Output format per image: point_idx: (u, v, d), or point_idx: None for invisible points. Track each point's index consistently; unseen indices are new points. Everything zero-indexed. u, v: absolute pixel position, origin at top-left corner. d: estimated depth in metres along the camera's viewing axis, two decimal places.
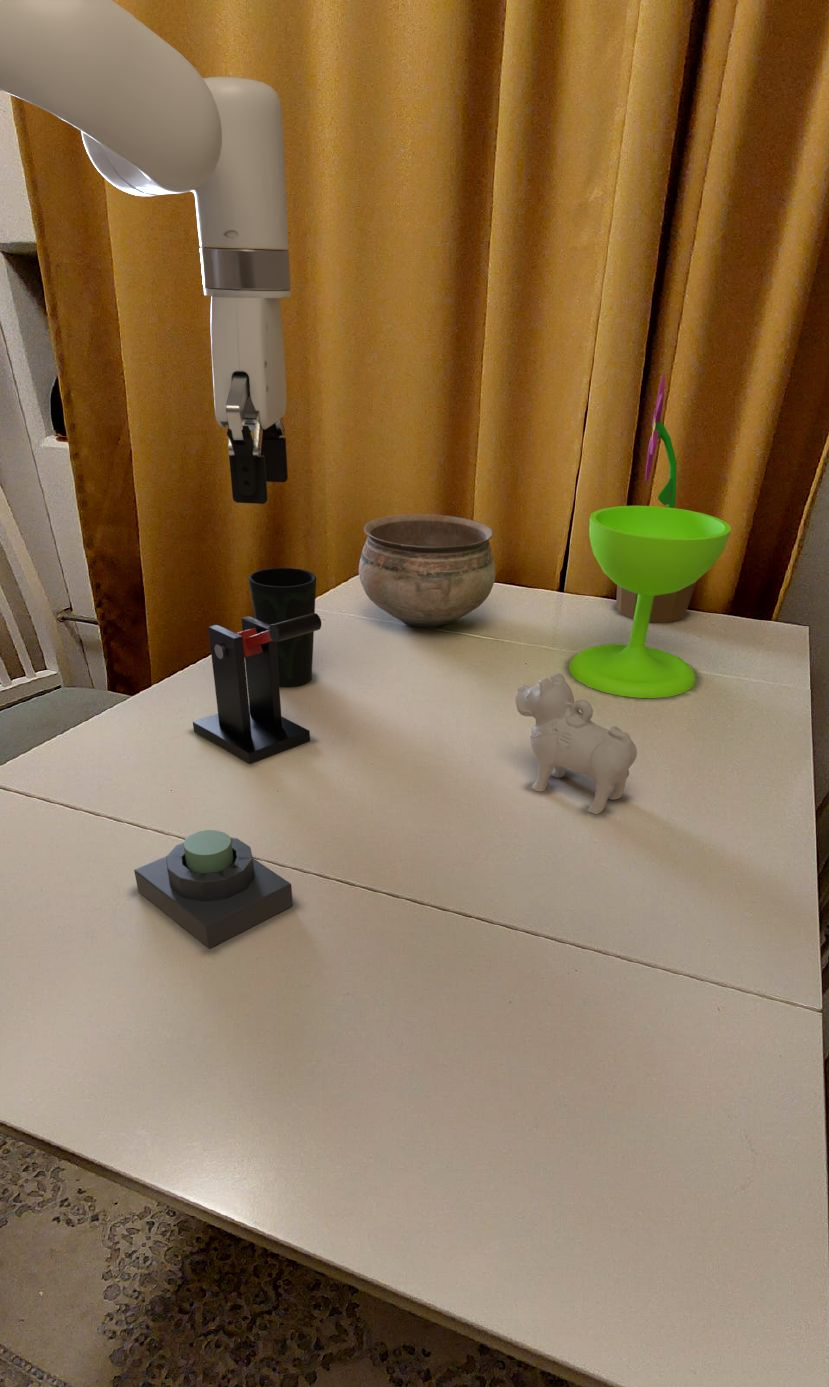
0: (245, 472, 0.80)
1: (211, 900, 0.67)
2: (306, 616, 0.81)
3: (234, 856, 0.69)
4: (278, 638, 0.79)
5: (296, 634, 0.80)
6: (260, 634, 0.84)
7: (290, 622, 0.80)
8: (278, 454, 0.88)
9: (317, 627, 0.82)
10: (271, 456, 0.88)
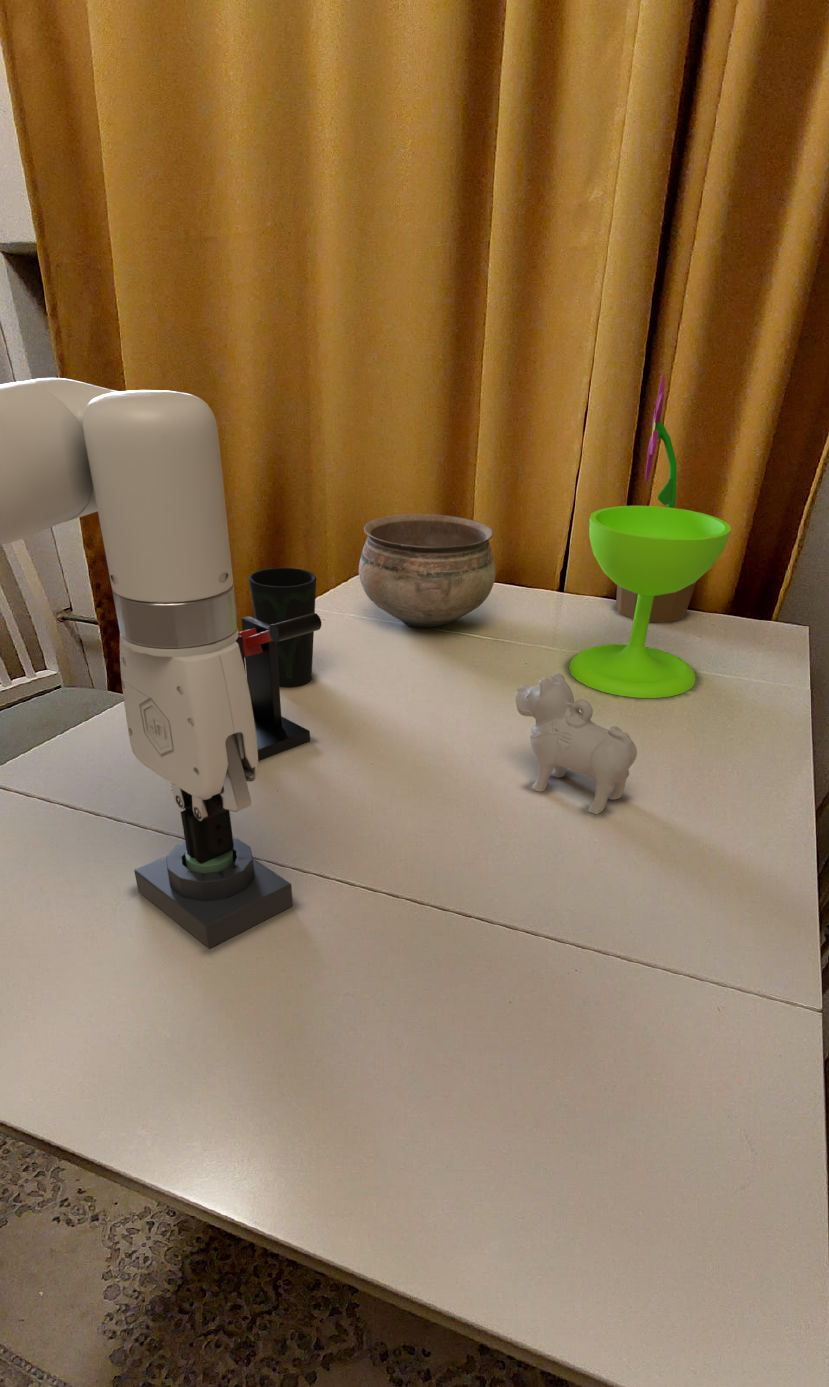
0: (217, 830, 0.65)
1: (211, 900, 0.67)
2: (306, 616, 0.81)
3: (234, 856, 0.69)
4: (278, 638, 0.79)
5: (296, 634, 0.80)
6: (260, 634, 0.84)
7: (290, 622, 0.80)
8: None
9: (317, 627, 0.82)
10: None
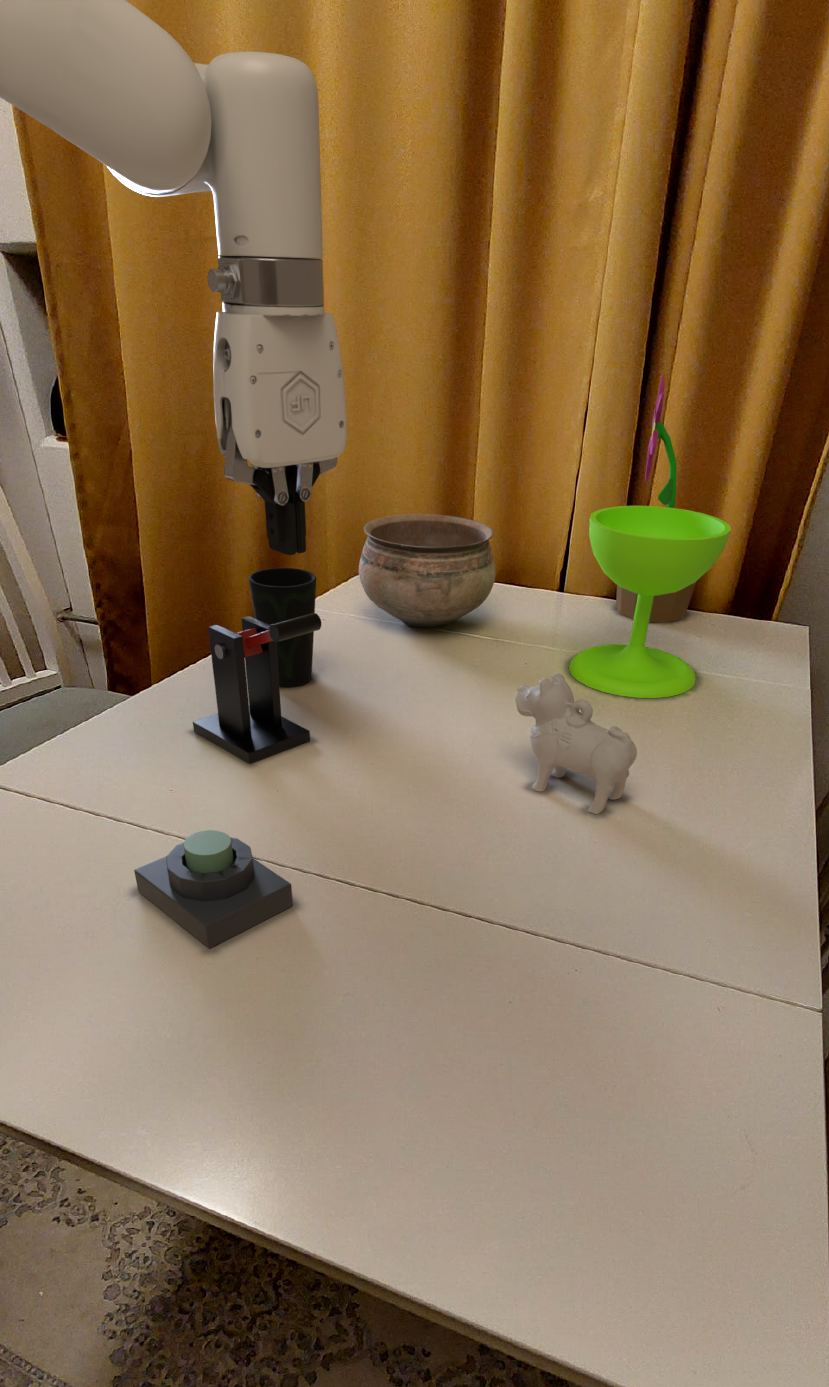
0: None
1: (211, 900, 0.67)
2: (306, 616, 0.81)
3: (234, 856, 0.69)
4: (278, 638, 0.79)
5: (296, 634, 0.80)
6: (260, 634, 0.84)
7: (290, 622, 0.80)
8: None
9: (317, 627, 0.82)
10: None
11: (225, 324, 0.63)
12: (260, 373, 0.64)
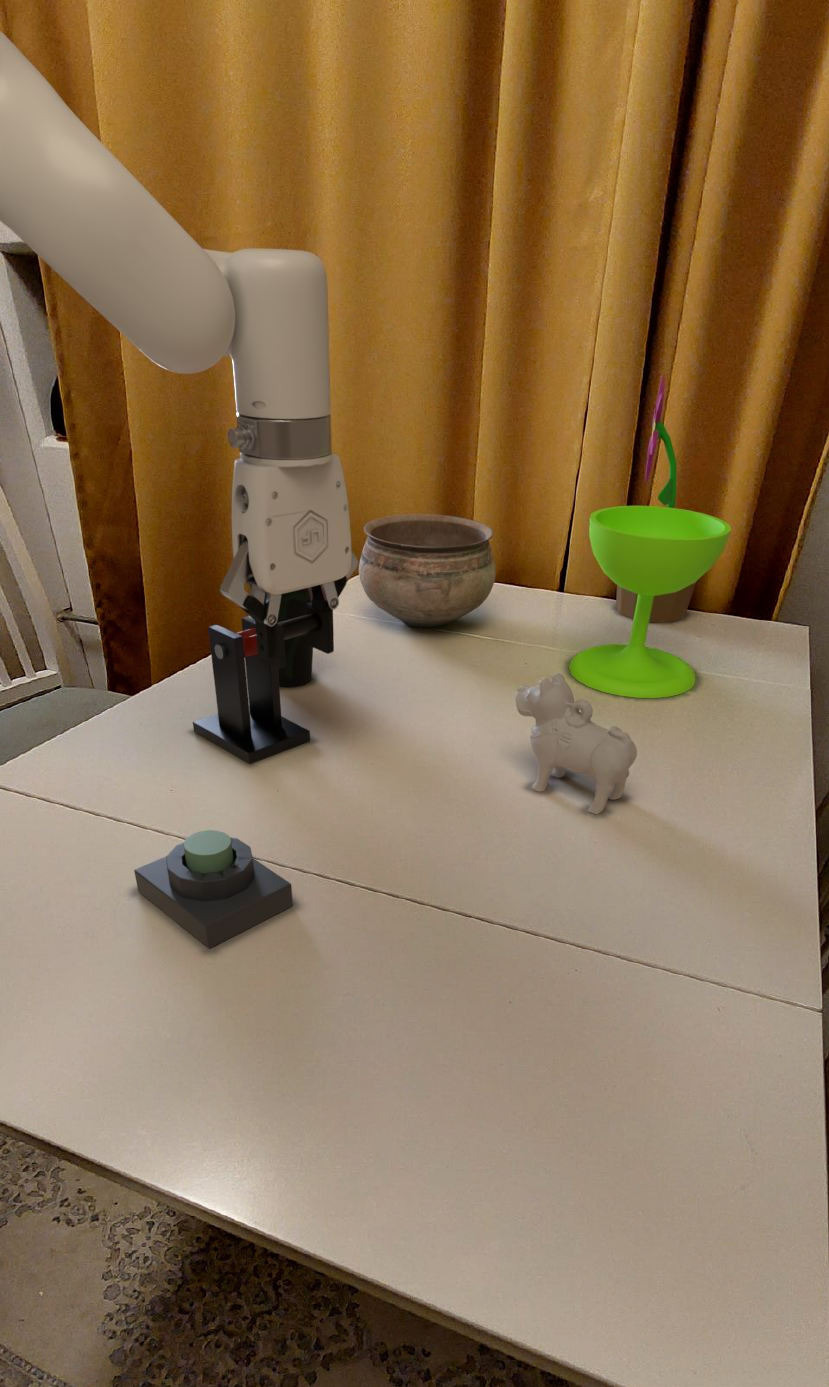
0: None
1: (211, 900, 0.67)
2: (306, 616, 0.81)
3: (234, 856, 0.69)
4: None
5: (296, 634, 0.80)
6: None
7: (290, 622, 0.80)
8: None
9: (317, 627, 0.82)
10: None
11: (243, 473, 0.70)
12: (275, 516, 0.71)
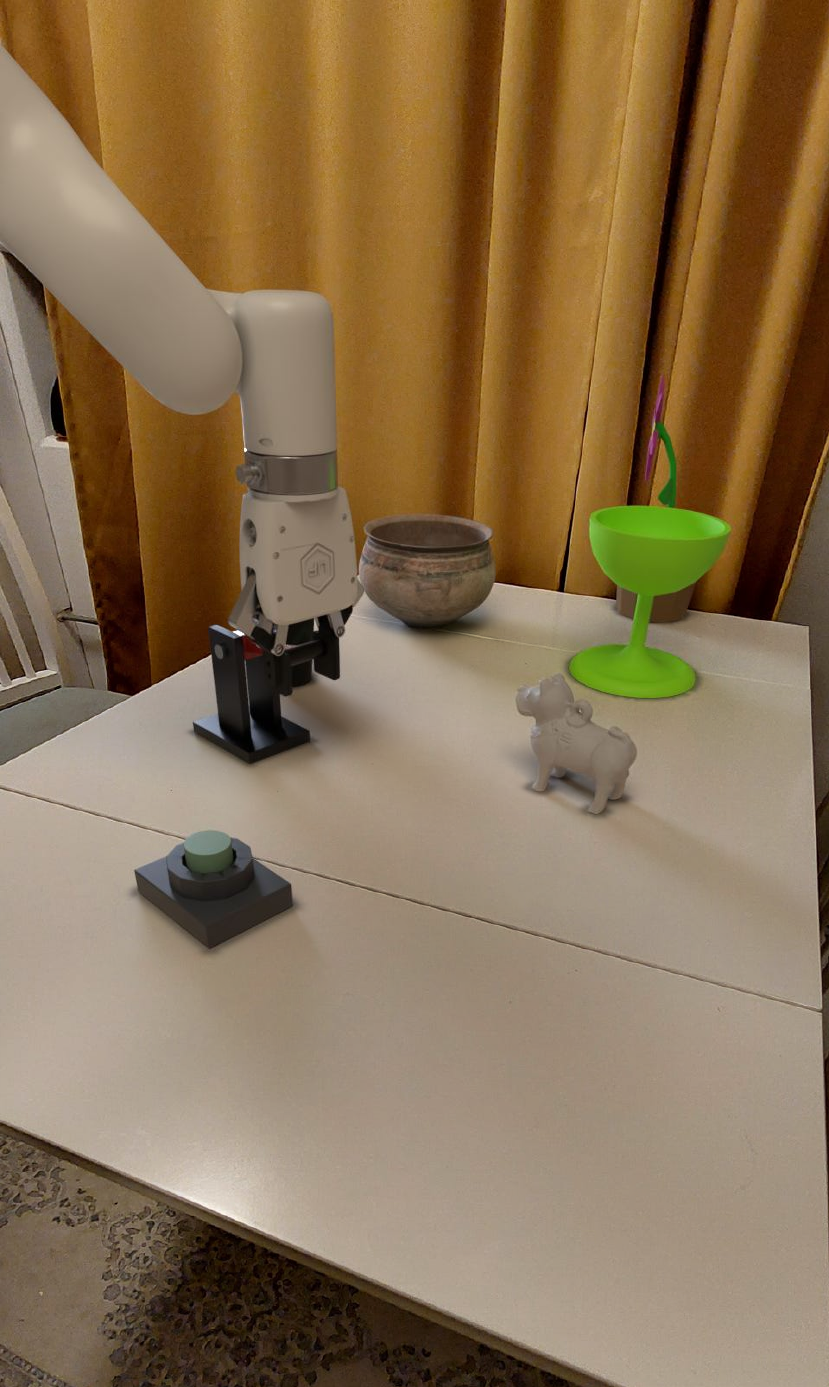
0: None
1: (211, 900, 0.67)
2: (313, 643, 0.82)
3: (234, 856, 0.69)
4: None
5: (302, 662, 0.82)
6: None
7: (298, 650, 0.81)
8: None
9: (322, 654, 0.83)
10: None
11: (251, 508, 0.71)
12: (282, 549, 0.72)
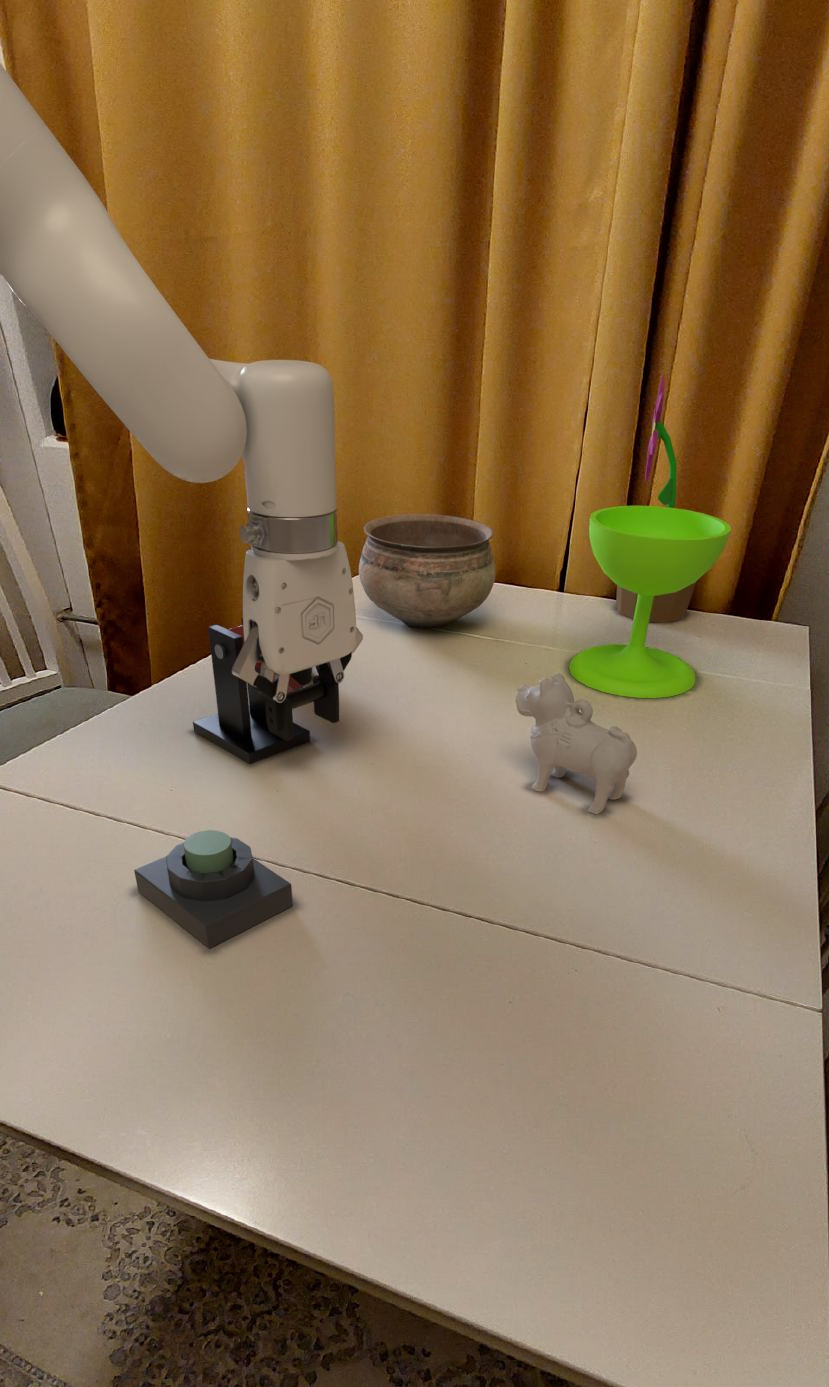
0: None
1: (211, 900, 0.67)
2: (316, 689, 0.85)
3: (234, 856, 0.69)
4: None
5: (301, 705, 0.85)
6: None
7: (300, 697, 0.83)
8: None
9: (321, 698, 0.86)
10: None
11: (254, 565, 0.74)
12: (284, 604, 0.75)
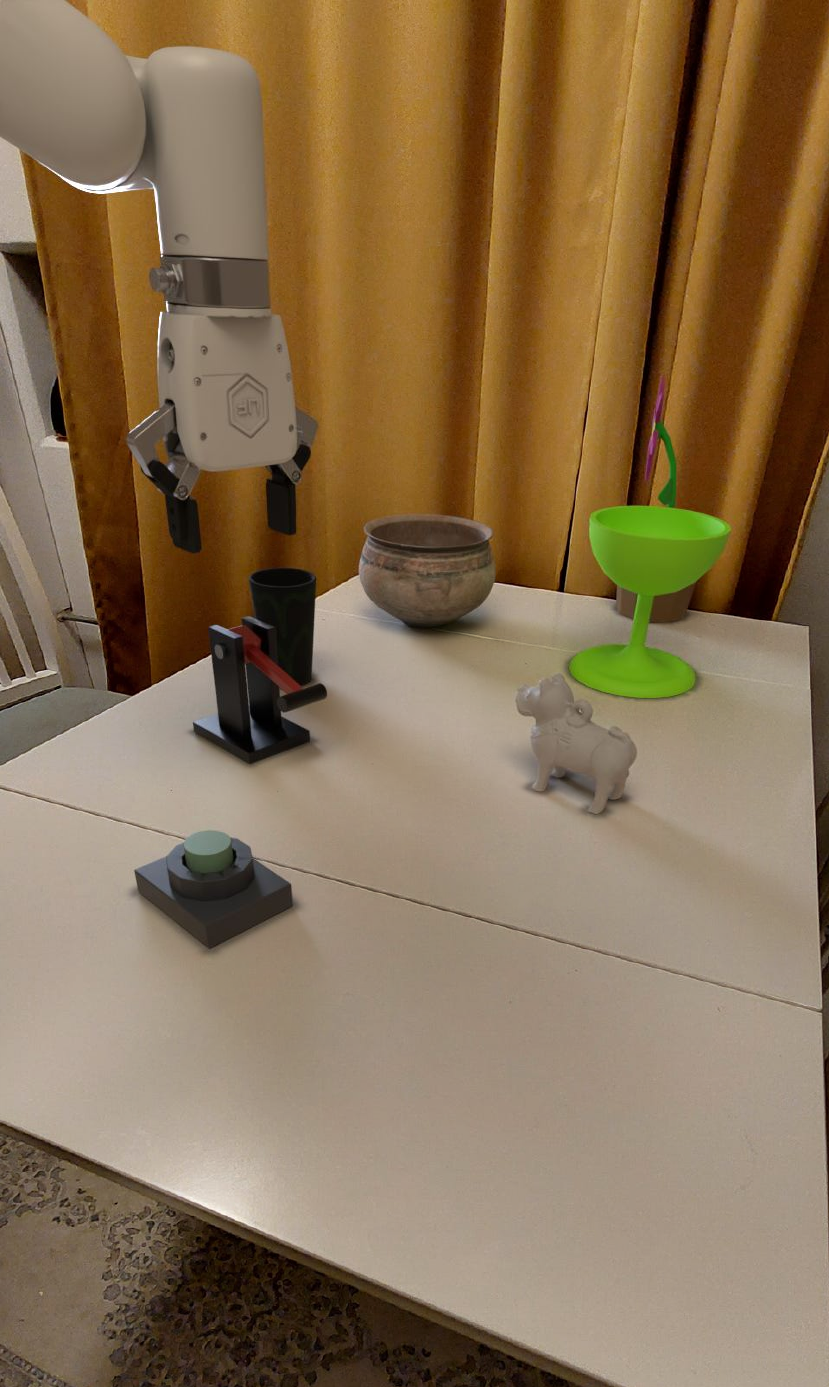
0: None
1: (211, 900, 0.67)
2: (316, 691, 0.85)
3: (234, 856, 0.69)
4: (284, 711, 0.83)
5: (300, 706, 0.85)
6: (265, 666, 0.86)
7: (300, 698, 0.84)
8: None
9: None
10: None
11: (169, 324, 0.62)
12: (205, 375, 0.63)
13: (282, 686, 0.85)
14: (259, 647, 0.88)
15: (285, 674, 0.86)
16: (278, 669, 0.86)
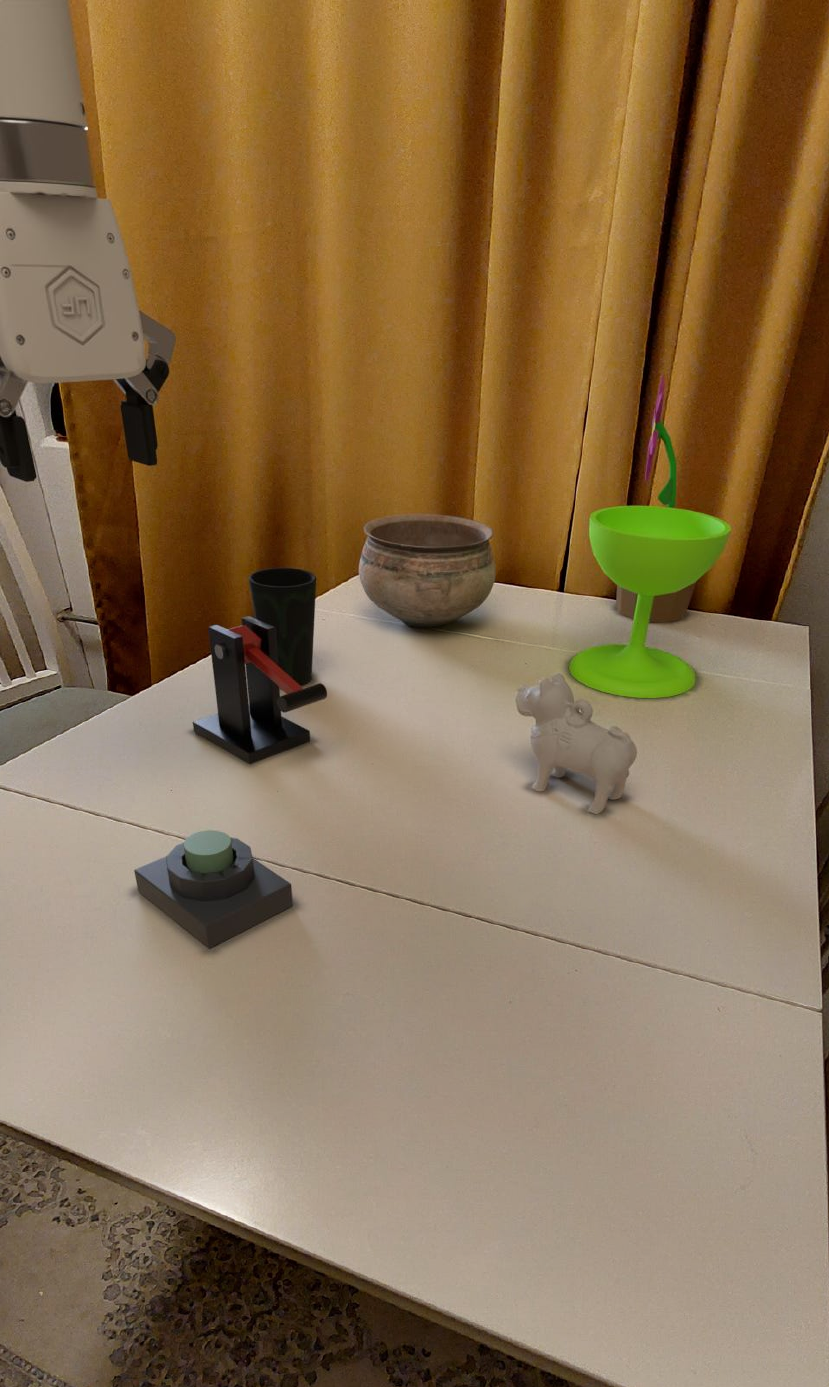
0: None
1: (211, 900, 0.67)
2: (316, 691, 0.85)
3: (234, 856, 0.69)
4: (284, 711, 0.83)
5: (300, 706, 0.85)
6: (265, 666, 0.86)
7: (300, 698, 0.84)
8: None
9: None
10: None
11: None
12: (14, 265, 0.54)
13: (282, 686, 0.85)
14: (259, 647, 0.88)
15: (285, 674, 0.86)
16: (278, 669, 0.86)
